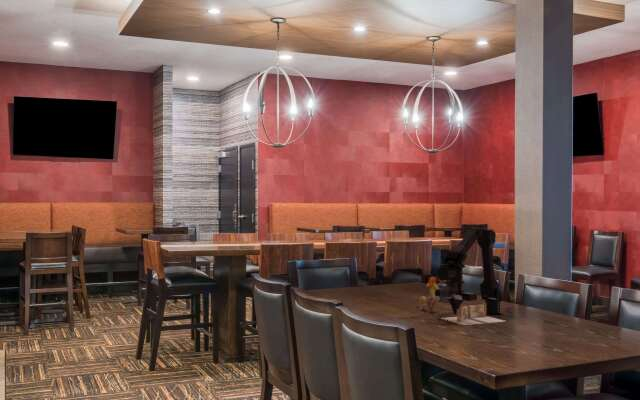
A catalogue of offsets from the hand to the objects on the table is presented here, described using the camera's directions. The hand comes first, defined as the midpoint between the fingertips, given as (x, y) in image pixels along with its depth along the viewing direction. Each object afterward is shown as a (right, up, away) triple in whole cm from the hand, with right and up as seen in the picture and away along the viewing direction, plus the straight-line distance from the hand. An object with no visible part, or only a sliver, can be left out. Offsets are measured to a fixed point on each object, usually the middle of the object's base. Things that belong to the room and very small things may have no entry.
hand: (455, 314), depth 300 cm
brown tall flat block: (+4, -3, +2) cm, 5 cm away
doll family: (+3, -3, +56) cm, 56 cm away
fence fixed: (+12, -3, +10) cm, 16 cm away
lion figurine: (-8, -3, +27) cm, 28 cm away
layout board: (+9, -3, +3) cm, 10 cm away
